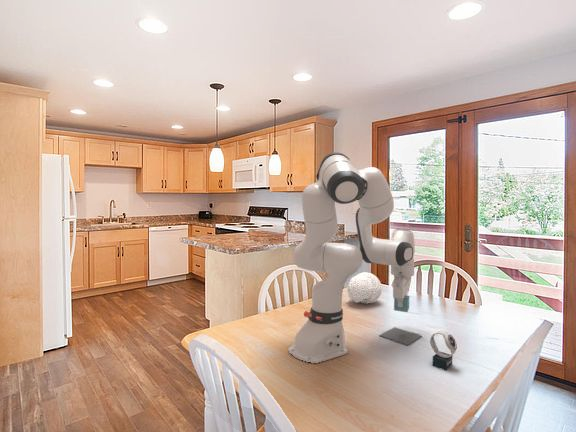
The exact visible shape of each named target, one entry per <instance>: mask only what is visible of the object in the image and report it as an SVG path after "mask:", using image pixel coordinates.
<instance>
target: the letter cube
mask: <svg viewBox="0 0 576 432" xmlns="http://www.w3.org/2000/svg"><path fill="white" fill-rule="evenodd" d="M393 299H394V298H393ZM409 309H410V296H409V295H406V296H404V298H403V307H398V301H397V299H394V300H393V311H396V312H403V313H408V312H409Z"/></svg>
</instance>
